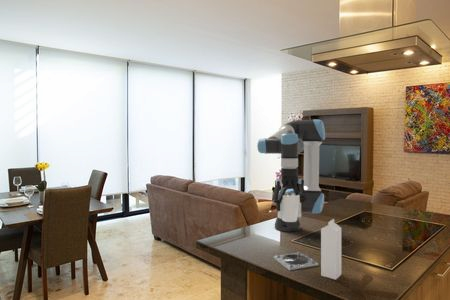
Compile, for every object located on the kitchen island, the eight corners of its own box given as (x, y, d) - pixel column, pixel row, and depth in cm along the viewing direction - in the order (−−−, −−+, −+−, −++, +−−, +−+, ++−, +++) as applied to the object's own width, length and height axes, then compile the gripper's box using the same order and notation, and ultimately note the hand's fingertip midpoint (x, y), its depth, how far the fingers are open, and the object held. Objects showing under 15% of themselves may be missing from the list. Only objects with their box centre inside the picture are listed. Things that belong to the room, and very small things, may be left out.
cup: (284, 223, 141) (284, 196, 141) (276, 218, 150) (276, 193, 149) (303, 222, 143) (303, 195, 143) (294, 217, 152) (294, 192, 152)
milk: (341, 274, 128) (342, 220, 127) (335, 280, 123) (336, 223, 122) (326, 270, 132) (327, 217, 131) (320, 275, 127) (320, 220, 126)
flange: (300, 254, 151) (300, 250, 151) (318, 265, 137) (318, 261, 137) (273, 258, 146) (273, 255, 146) (289, 270, 133) (289, 266, 133)
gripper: (305, 166, 153) (305, 213, 153) (264, 167, 146) (264, 217, 146) (315, 167, 145) (314, 217, 146) (271, 169, 139) (271, 221, 139)
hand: (289, 217), depth 146 cm, fingers closed on cup, 9 cm apart
